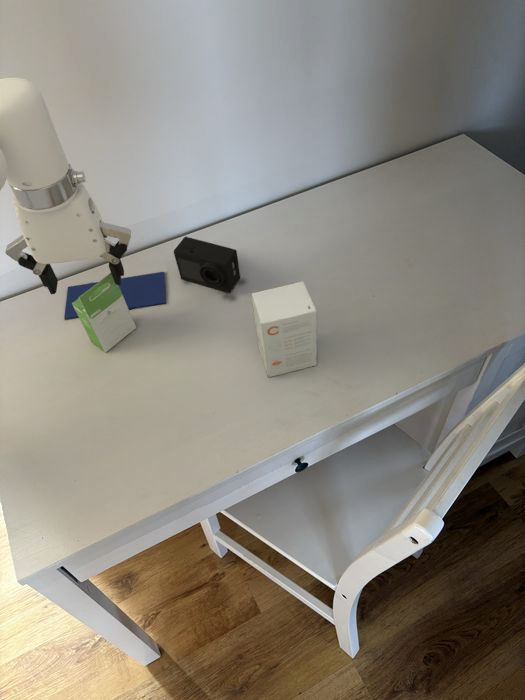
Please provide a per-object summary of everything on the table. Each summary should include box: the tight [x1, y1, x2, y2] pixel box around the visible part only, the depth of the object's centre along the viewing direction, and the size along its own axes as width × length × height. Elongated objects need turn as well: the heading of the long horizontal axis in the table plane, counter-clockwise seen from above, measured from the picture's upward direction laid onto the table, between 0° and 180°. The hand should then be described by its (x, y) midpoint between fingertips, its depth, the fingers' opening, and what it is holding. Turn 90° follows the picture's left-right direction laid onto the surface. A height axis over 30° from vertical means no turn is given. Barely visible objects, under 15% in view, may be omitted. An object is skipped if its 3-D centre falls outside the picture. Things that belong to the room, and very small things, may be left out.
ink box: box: [72, 272, 137, 353], centre depth 86 cm, size 7×4×13 cm, turn 139°
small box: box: [251, 280, 318, 378], centre depth 81 cm, size 8×6×13 cm
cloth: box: [63, 271, 167, 321], centre depth 97 cm, size 18×8×1 cm, turn 98°
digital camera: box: [173, 236, 241, 294], centre depth 95 cm, size 10×5×7 cm, turn 65°
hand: (86, 283), depth 81 cm, fingers open, 9 cm apart
